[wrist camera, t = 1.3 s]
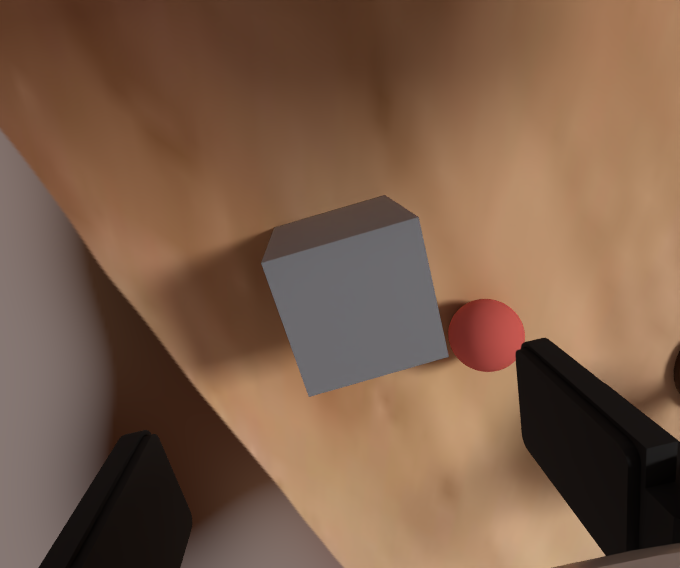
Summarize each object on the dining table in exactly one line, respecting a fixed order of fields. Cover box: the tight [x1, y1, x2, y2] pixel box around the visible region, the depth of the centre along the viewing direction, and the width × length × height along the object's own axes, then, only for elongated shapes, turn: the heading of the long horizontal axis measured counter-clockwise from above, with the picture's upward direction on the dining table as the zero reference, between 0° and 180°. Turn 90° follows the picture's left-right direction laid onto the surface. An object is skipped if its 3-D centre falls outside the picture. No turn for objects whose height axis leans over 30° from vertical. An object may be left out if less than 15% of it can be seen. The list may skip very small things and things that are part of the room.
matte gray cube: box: [261, 195, 449, 397], centre depth 25 cm, size 8×8×9 cm
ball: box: [448, 299, 525, 372], centre depth 29 cm, size 5×5×5 cm
